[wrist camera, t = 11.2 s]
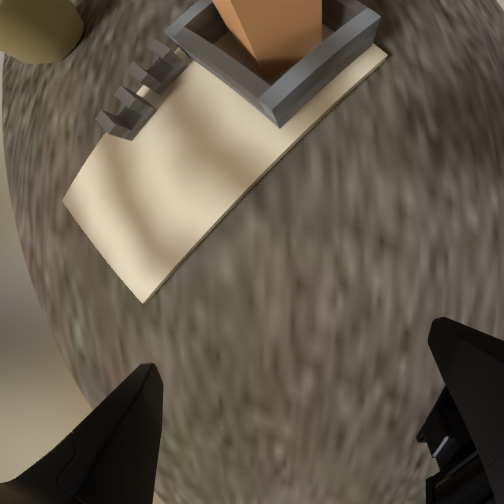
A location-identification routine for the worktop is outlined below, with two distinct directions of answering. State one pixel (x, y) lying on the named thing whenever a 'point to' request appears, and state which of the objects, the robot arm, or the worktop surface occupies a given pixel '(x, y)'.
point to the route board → (205, 136)
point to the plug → (273, 30)
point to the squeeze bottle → (39, 29)
